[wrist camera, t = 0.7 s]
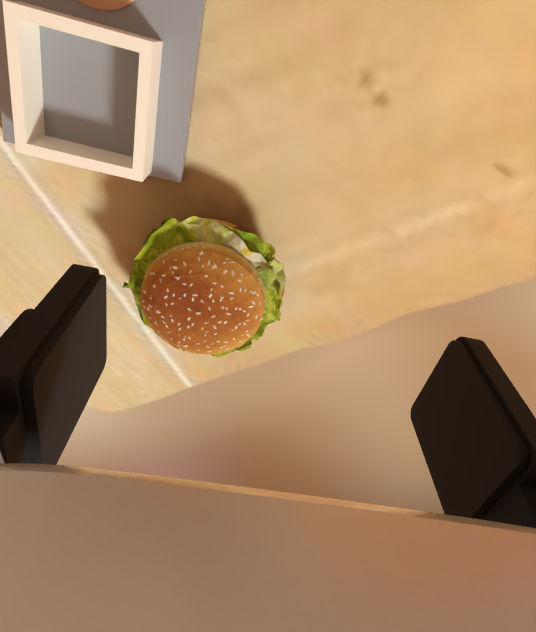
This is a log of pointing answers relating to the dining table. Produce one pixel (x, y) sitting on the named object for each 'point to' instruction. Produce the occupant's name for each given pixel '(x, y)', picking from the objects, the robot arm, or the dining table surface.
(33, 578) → the robot arm
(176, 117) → the board
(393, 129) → the dining table surface
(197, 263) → the food
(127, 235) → the dining table surface
